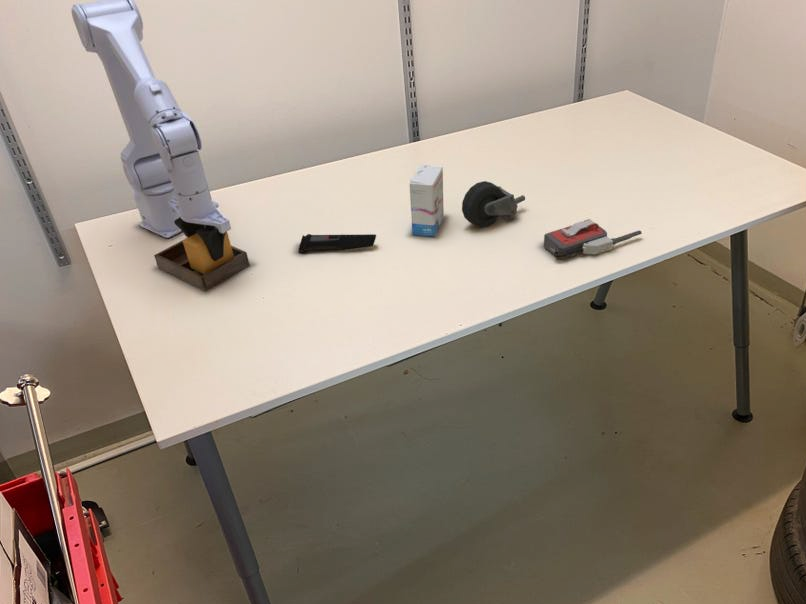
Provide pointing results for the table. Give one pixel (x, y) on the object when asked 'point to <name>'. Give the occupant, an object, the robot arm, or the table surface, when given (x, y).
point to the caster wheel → (488, 204)
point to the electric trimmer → (336, 242)
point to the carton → (205, 254)
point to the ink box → (426, 200)
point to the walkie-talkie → (581, 240)
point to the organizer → (179, 266)
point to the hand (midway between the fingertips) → (210, 254)
